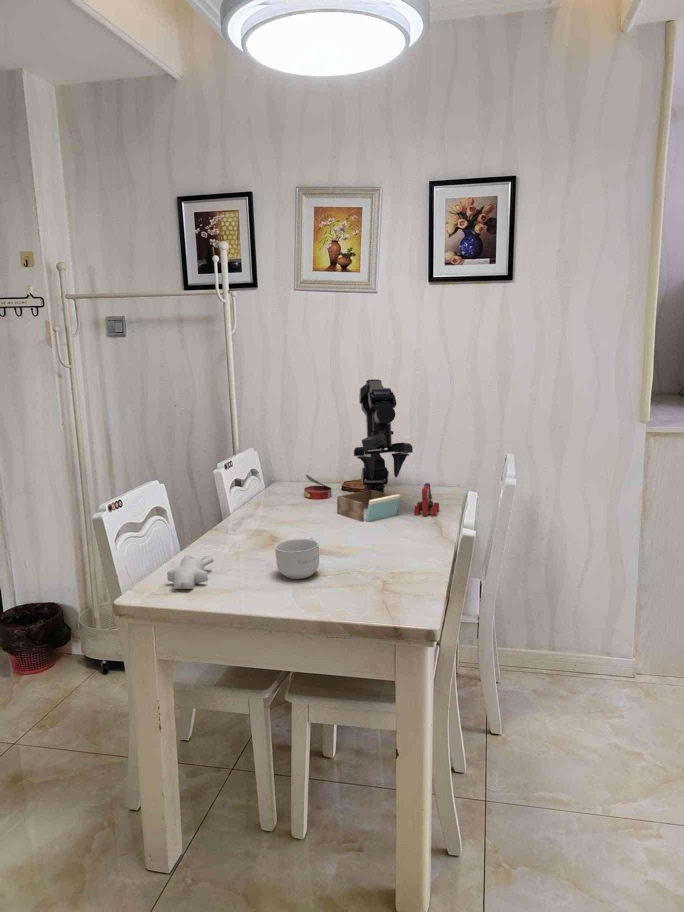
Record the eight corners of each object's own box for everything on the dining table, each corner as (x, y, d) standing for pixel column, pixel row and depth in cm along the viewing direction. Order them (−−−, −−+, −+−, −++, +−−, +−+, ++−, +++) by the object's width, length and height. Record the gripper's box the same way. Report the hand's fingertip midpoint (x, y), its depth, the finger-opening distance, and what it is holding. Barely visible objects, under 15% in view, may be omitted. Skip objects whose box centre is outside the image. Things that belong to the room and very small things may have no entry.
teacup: (302, 586, 159) (302, 553, 158) (266, 577, 165) (265, 546, 163) (334, 568, 171) (334, 537, 169) (299, 561, 176) (299, 531, 175)
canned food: (307, 506, 249) (307, 480, 252) (334, 504, 247) (333, 478, 250) (300, 499, 238) (299, 472, 241) (328, 497, 236) (327, 469, 239)
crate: (337, 517, 217) (337, 496, 215) (371, 510, 225) (371, 489, 224) (361, 525, 207) (361, 503, 206) (396, 517, 216) (396, 496, 215)
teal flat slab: (365, 520, 208) (369, 500, 205) (394, 513, 215) (398, 494, 212) (367, 521, 207) (371, 501, 204) (396, 515, 214) (400, 495, 212)
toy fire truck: (440, 512, 223) (440, 481, 221) (435, 522, 211) (435, 489, 209) (419, 510, 225) (419, 480, 223) (413, 520, 213) (413, 488, 211)
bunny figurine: (160, 576, 155) (179, 548, 169) (162, 596, 157) (181, 566, 171) (201, 576, 155) (216, 548, 169) (203, 596, 156) (218, 567, 170)
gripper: (342, 428, 212) (344, 478, 210) (392, 422, 200) (394, 475, 199) (363, 431, 220) (364, 479, 219) (412, 425, 209) (414, 476, 208)
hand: (383, 477), depth 211 cm, fingers open, 9 cm apart
